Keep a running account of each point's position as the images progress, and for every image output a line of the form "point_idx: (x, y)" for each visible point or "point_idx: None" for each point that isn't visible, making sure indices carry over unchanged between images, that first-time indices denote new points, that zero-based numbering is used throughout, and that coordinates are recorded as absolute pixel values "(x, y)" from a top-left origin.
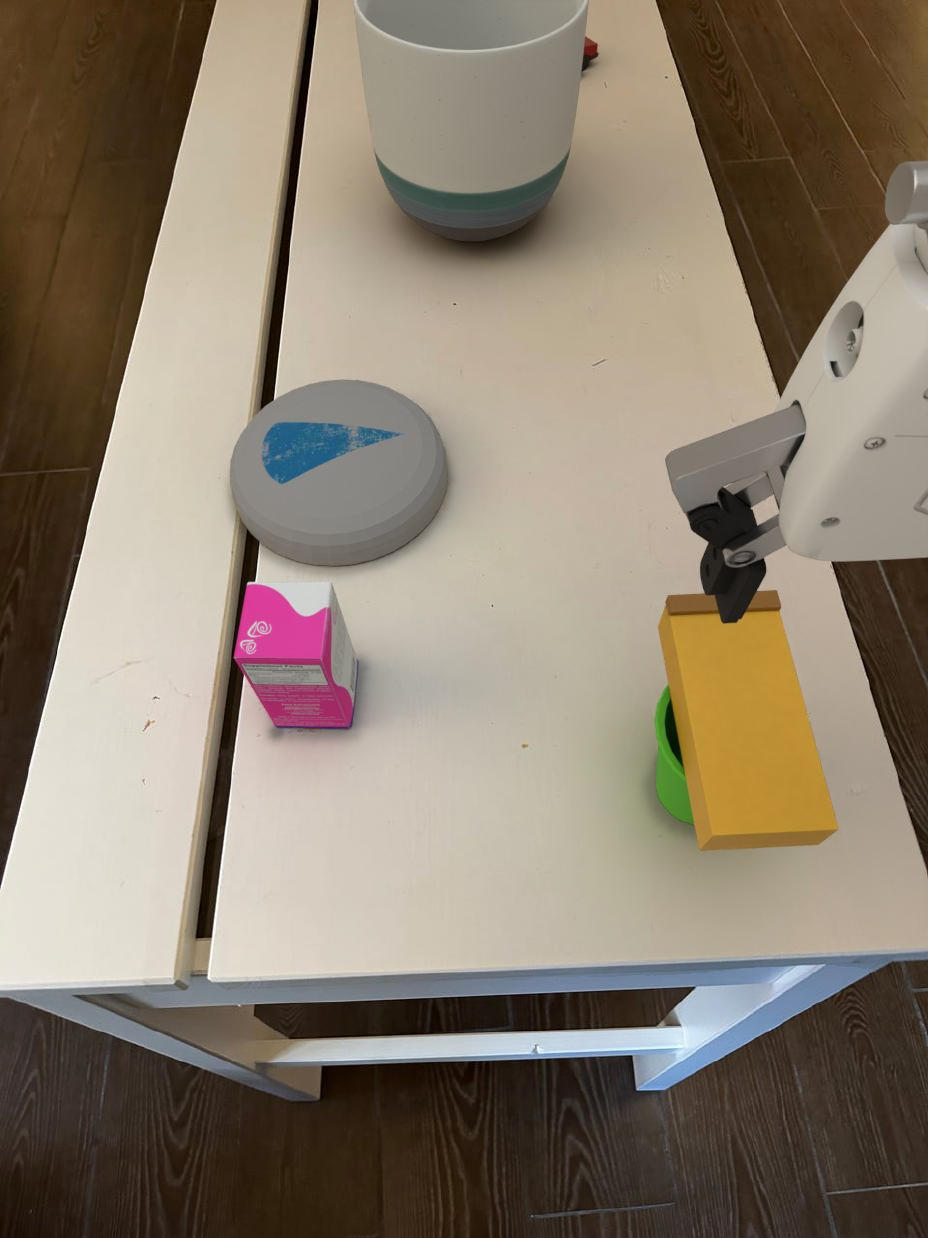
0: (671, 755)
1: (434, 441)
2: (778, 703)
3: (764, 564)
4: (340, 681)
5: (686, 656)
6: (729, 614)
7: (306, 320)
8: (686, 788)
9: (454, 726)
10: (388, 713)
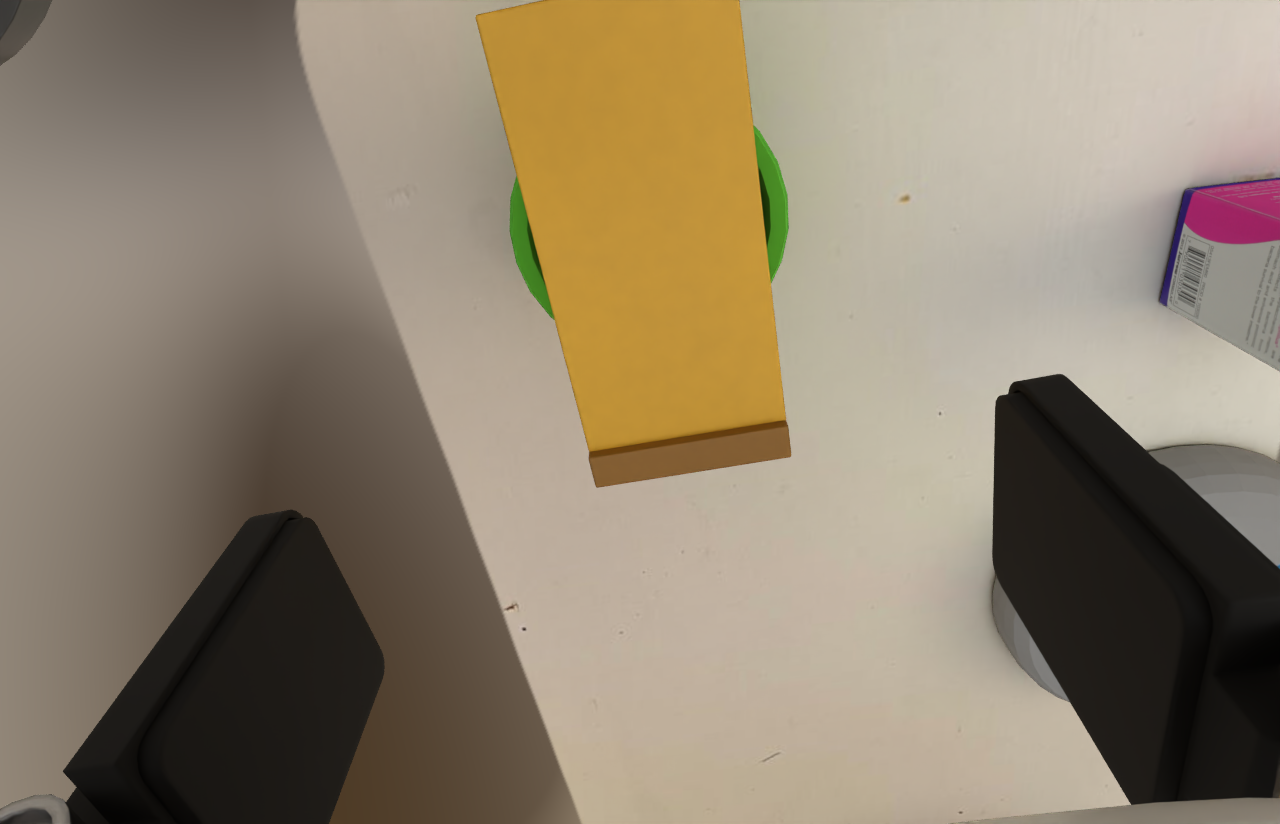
0: (763, 162)
1: (1031, 643)
2: (593, 275)
3: (1193, 632)
4: (1269, 249)
5: (761, 346)
6: (1091, 403)
7: None
8: None
9: (1014, 216)
10: (1119, 223)
